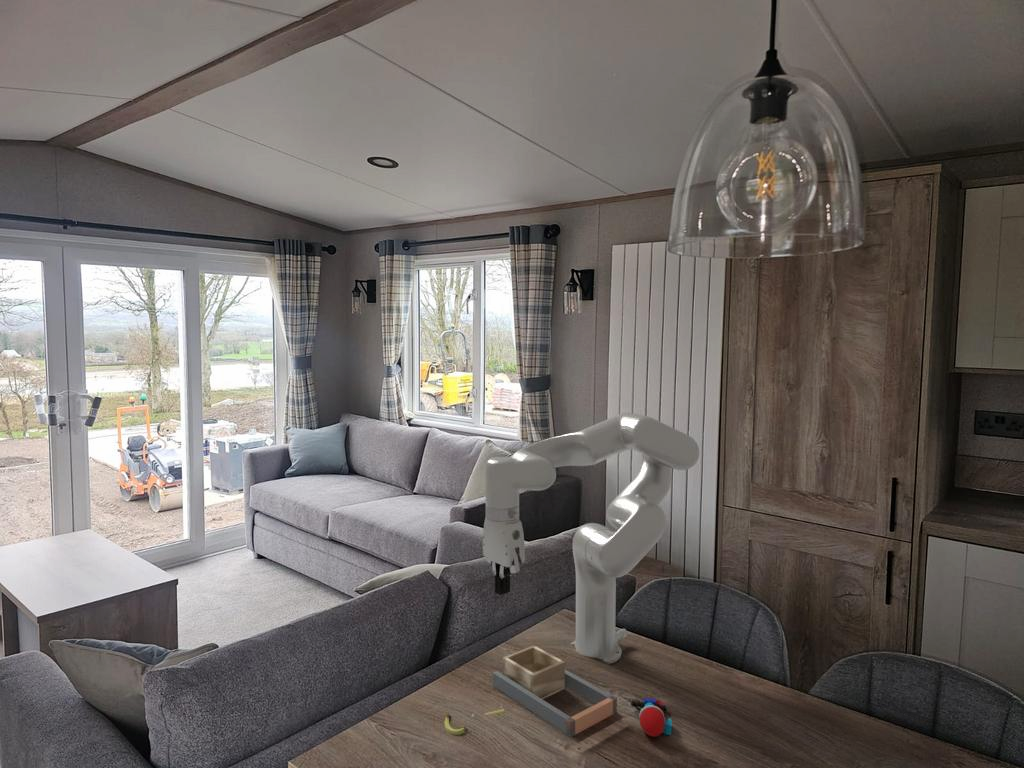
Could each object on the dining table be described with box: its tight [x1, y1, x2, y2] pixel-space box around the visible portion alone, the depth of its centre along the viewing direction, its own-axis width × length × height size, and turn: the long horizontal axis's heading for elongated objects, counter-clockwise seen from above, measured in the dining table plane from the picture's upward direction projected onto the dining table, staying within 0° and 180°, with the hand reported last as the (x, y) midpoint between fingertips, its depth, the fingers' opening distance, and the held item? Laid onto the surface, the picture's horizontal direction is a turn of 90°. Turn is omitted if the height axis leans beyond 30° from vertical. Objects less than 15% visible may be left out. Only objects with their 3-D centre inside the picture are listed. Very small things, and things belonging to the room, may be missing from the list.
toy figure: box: [630, 697, 673, 737], centre depth 135 cm, size 8×5×15 cm
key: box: [444, 705, 506, 736], centre depth 136 cm, size 7×12×2 cm, turn 121°
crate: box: [502, 645, 566, 700], centre depth 145 cm, size 10×9×6 cm
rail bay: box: [492, 669, 618, 738], centre depth 141 cm, size 24×13×4 cm, turn 40°
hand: (502, 592), depth 152 cm, fingers closed
